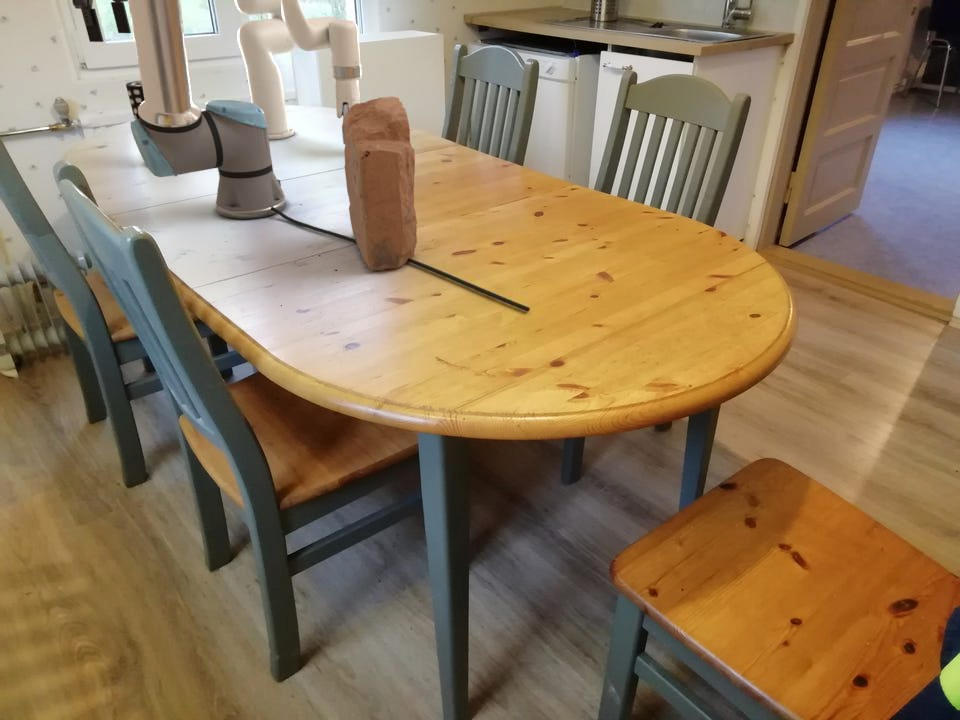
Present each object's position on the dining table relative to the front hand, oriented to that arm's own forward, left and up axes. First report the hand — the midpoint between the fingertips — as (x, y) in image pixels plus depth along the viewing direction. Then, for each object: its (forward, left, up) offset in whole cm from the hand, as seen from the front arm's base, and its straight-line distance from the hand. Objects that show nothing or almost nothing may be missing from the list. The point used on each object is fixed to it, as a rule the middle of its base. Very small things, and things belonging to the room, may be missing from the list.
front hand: (111, 37), depth 158 cm
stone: (-70, -37, -33) cm, 85 cm away
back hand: (-3, -54, -29) cm, 62 cm away
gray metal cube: (-3, -54, -30) cm, 62 cm away
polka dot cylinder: (+12, -5, -22) cm, 26 cm away
